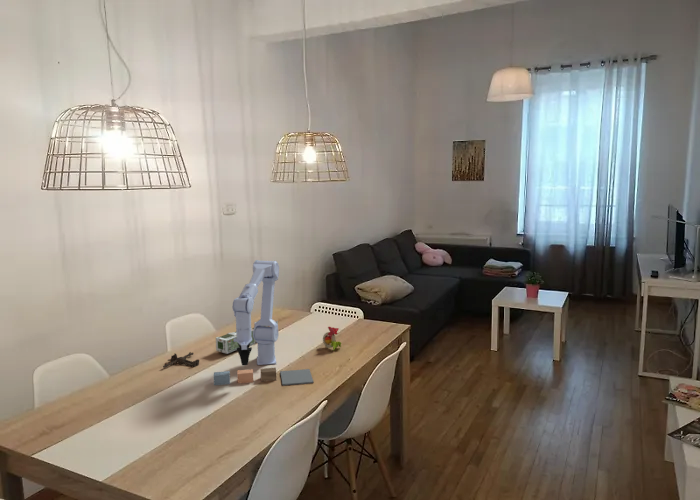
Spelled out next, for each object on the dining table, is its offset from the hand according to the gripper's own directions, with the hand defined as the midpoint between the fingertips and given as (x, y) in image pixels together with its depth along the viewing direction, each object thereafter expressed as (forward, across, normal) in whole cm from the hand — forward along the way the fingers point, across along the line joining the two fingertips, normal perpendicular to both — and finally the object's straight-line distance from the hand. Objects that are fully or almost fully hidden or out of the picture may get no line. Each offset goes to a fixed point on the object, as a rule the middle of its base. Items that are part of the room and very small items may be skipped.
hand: (244, 361), depth 204 cm
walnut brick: (+8, 0, +9) cm, 12 cm away
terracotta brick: (+8, 0, 0) cm, 8 cm away
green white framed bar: (+8, -44, +1) cm, 45 cm away
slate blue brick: (+8, 0, -9) cm, 12 cm away
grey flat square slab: (+8, +1, +20) cm, 22 cm away
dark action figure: (+9, -24, -26) cm, 36 cm away
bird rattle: (+8, -29, +39) cm, 49 cm away
